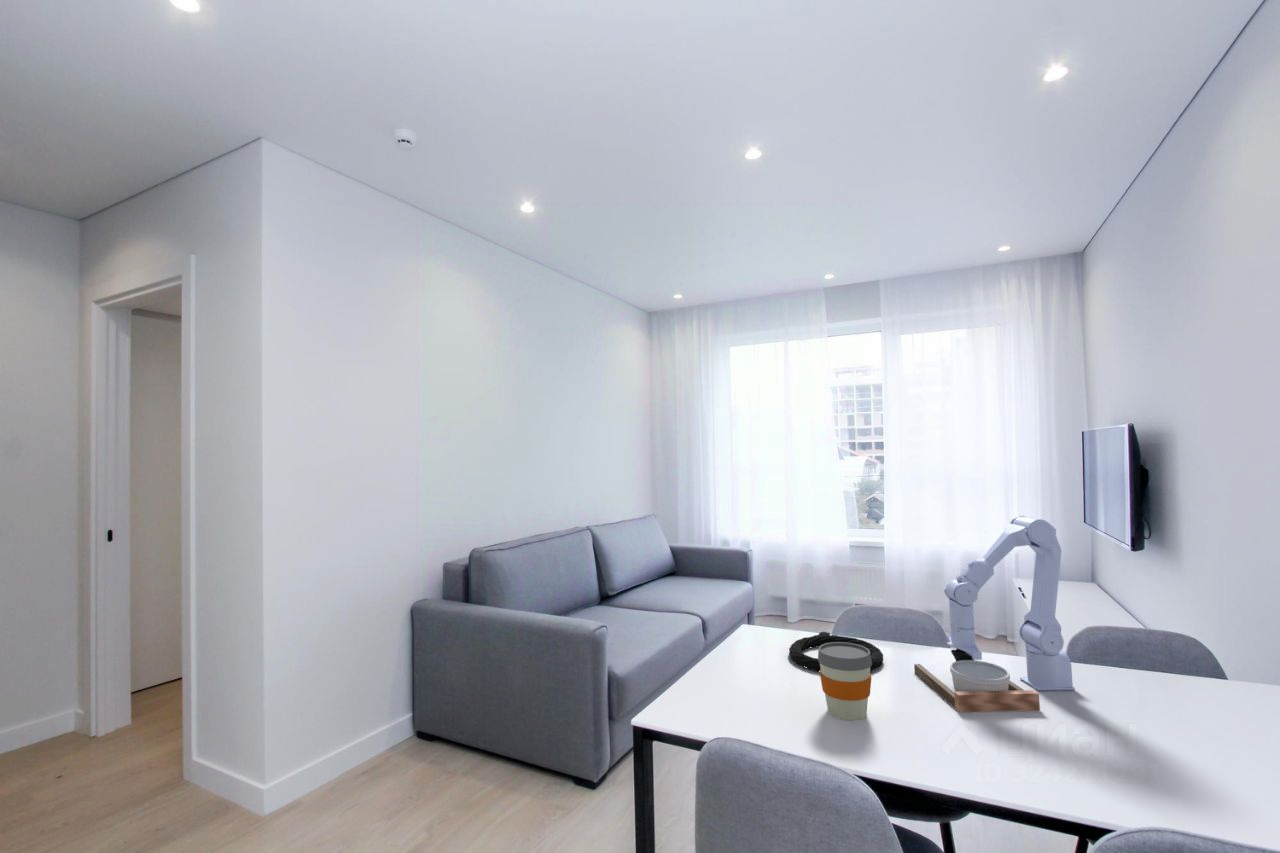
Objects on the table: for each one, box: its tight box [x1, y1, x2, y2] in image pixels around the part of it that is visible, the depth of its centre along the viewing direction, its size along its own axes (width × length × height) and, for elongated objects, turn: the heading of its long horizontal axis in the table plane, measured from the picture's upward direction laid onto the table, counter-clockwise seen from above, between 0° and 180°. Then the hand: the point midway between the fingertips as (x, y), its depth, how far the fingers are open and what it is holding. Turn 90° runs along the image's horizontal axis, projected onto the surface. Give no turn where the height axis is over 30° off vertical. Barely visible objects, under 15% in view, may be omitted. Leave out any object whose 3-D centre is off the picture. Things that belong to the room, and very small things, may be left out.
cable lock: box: [788, 631, 884, 672], centre depth 181 cm, size 28×4×30 cm
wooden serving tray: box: [913, 663, 1041, 713], centre depth 153 cm, size 19×25×4 cm
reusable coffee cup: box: [817, 642, 872, 722], centre depth 144 cm, size 12×12×15 cm
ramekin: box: [949, 660, 1011, 692], centre depth 149 cm, size 13×13×7 cm
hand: (965, 677), depth 157 cm, fingers closed
